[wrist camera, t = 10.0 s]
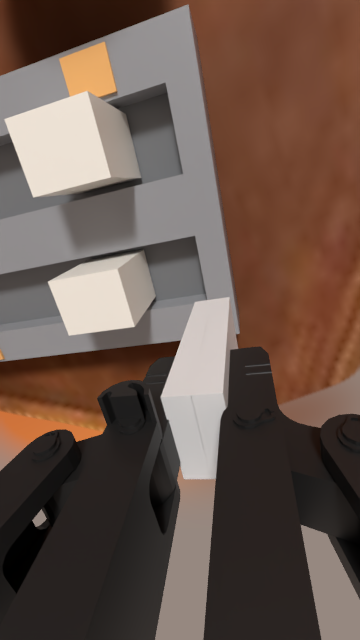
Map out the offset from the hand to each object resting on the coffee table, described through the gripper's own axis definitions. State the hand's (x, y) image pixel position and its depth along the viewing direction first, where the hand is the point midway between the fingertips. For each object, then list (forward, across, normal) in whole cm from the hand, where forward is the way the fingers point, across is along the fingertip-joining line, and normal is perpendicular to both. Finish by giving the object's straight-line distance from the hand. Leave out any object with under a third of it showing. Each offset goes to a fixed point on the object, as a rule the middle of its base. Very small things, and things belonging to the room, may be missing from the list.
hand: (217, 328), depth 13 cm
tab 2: (+12, -9, 0) cm, 15 cm away
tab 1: (+12, -8, +9) cm, 17 cm away
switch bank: (+14, -15, +5) cm, 21 cm away
